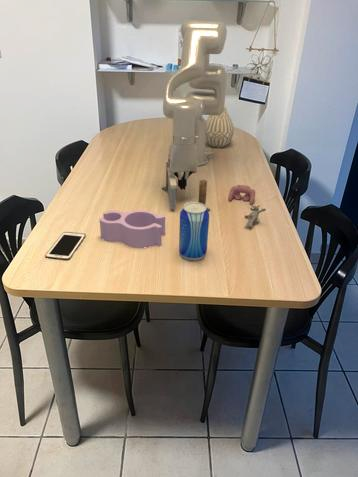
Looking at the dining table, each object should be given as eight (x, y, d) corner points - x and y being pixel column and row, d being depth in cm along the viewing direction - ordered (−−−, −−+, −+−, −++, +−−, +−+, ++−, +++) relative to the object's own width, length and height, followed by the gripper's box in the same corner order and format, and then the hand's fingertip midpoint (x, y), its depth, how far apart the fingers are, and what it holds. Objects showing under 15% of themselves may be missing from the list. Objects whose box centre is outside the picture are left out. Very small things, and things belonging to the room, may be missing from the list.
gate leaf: (167, 189, 156) (167, 166, 151) (172, 188, 156) (172, 166, 152) (170, 209, 142) (170, 185, 137) (175, 209, 142) (176, 185, 137)
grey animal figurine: (232, 224, 136) (242, 206, 141) (243, 236, 138) (253, 218, 142) (252, 216, 128) (262, 198, 133) (264, 229, 130) (273, 210, 134)
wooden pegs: (161, 189, 159) (161, 162, 153) (170, 186, 161) (171, 159, 155) (200, 214, 141) (202, 184, 135) (210, 211, 144) (212, 182, 138)
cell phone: (86, 236, 128) (86, 233, 127) (69, 261, 115) (69, 259, 115) (64, 233, 128) (63, 231, 128) (44, 259, 116) (43, 256, 116)
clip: (96, 244, 123) (94, 225, 120) (108, 224, 134) (107, 206, 130) (159, 250, 121) (159, 231, 117) (166, 230, 132) (166, 212, 128)
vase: (237, 144, 210) (241, 105, 199) (223, 152, 198) (227, 111, 188) (211, 138, 217) (213, 100, 207) (196, 146, 206) (198, 106, 195)
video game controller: (253, 205, 152) (257, 187, 151) (252, 205, 148) (256, 186, 147) (228, 201, 155) (231, 183, 154) (227, 201, 150) (230, 182, 149)
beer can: (177, 246, 123) (178, 200, 114) (204, 246, 123) (207, 200, 115) (180, 262, 116) (181, 214, 107) (208, 261, 116) (212, 214, 108)
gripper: (201, 135, 141) (198, 182, 151) (160, 137, 138) (160, 185, 148) (207, 142, 135) (204, 190, 145) (164, 144, 132) (164, 194, 142)
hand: (182, 188), depth 146 cm, fingers closed
